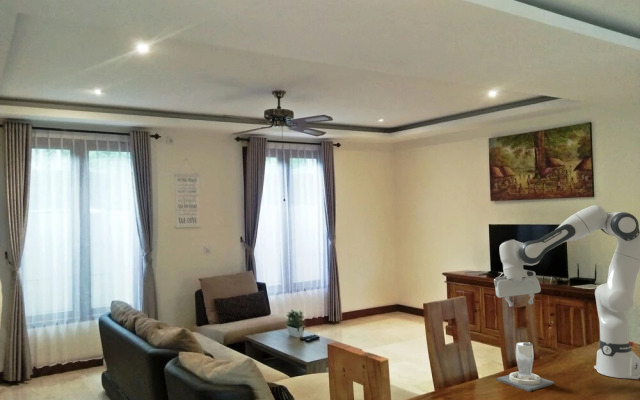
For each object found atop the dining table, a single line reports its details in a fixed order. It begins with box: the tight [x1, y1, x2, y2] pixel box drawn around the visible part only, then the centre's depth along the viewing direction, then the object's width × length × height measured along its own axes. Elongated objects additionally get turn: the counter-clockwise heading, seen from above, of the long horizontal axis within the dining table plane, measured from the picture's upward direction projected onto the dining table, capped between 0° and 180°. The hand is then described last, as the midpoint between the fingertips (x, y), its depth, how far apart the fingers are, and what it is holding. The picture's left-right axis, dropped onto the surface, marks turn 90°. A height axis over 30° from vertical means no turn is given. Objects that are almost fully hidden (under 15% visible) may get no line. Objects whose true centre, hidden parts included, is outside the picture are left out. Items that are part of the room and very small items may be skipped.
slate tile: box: [496, 371, 555, 392], centre depth 209 cm, size 16×16×2 cm
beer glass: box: [515, 341, 534, 380], centre depth 209 cm, size 7×7×15 cm
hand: (521, 305), depth 224 cm, fingers open, 8 cm apart
